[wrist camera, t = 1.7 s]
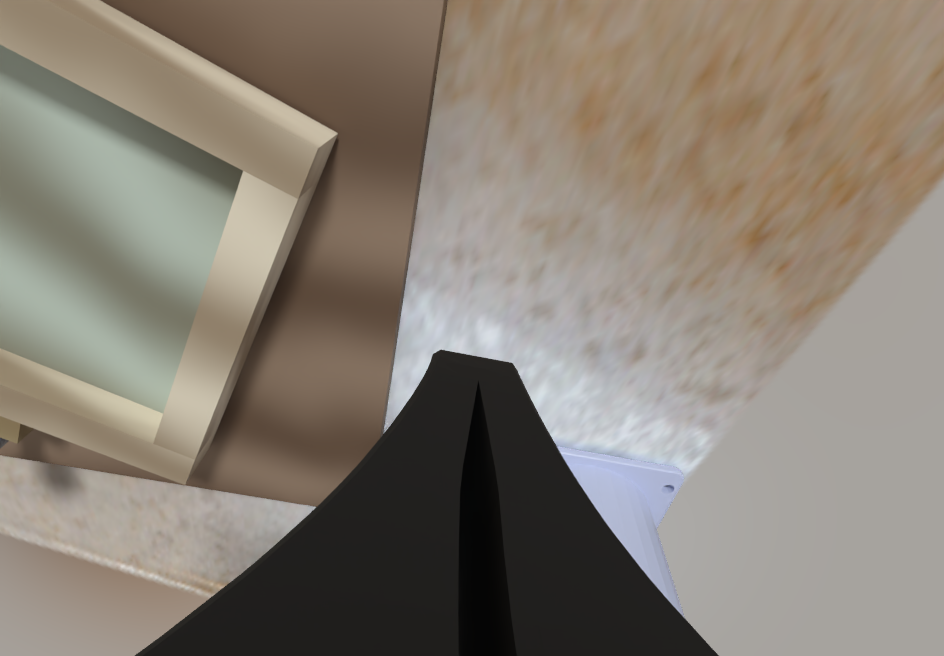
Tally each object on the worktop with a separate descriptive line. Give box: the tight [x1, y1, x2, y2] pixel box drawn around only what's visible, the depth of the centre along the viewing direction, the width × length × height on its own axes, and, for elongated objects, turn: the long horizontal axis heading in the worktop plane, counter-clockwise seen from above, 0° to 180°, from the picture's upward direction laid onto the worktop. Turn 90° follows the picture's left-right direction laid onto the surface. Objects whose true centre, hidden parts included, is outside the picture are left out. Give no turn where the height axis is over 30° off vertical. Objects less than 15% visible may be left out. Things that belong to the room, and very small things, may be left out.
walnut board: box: [0, 0, 448, 507], centre depth 17 cm, size 23×24×1 cm
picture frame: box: [0, 0, 338, 485], centre depth 16 cm, size 15×14×2 cm
